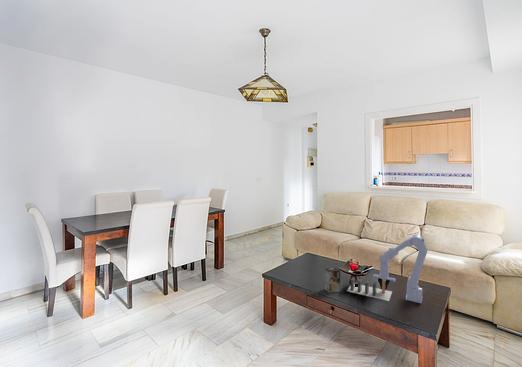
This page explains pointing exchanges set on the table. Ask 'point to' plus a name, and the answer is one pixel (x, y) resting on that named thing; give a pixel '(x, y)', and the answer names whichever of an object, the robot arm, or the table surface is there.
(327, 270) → the coffee box
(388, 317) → the table surface
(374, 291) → the domino
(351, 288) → the domino
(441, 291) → the table surface
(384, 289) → the domino
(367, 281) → the domino
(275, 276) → the table surface
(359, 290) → the domino
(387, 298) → the grey mat
